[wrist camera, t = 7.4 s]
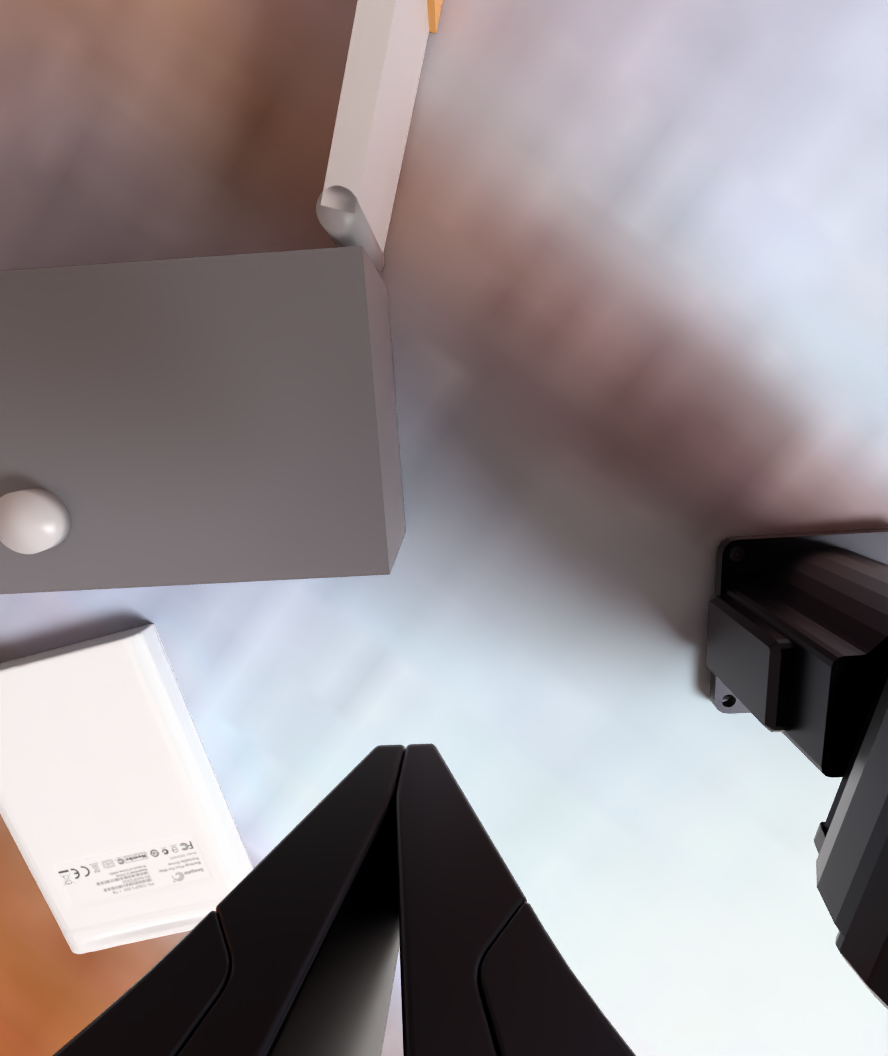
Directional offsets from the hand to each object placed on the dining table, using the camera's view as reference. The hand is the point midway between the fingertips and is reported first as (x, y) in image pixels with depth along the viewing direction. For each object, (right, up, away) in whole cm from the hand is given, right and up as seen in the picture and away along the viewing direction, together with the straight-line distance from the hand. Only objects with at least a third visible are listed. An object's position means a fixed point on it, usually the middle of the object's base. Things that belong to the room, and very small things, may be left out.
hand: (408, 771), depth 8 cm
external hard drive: (-12, -7, +15) cm, 20 cm away
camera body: (-7, +7, +11) cm, 15 cm away
